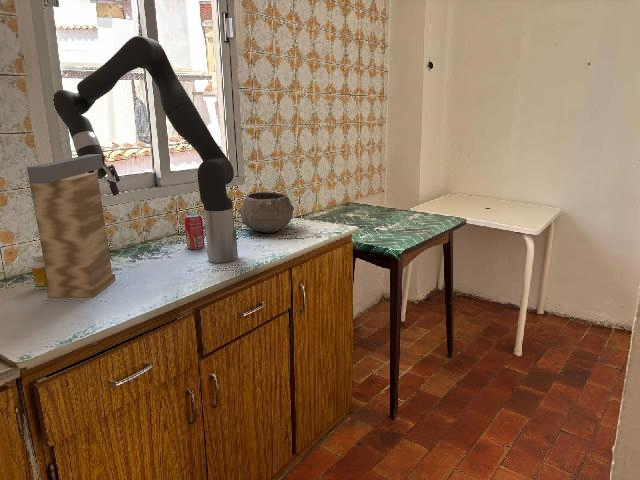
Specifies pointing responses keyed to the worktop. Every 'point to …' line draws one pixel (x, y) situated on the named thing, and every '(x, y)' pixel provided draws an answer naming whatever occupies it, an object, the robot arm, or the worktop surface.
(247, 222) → the clay pot
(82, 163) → the block
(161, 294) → the worktop surface
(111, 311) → the worktop surface
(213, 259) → the robot arm
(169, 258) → the worktop surface
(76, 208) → the stand
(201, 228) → the soda can
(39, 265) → the supplement bottle
